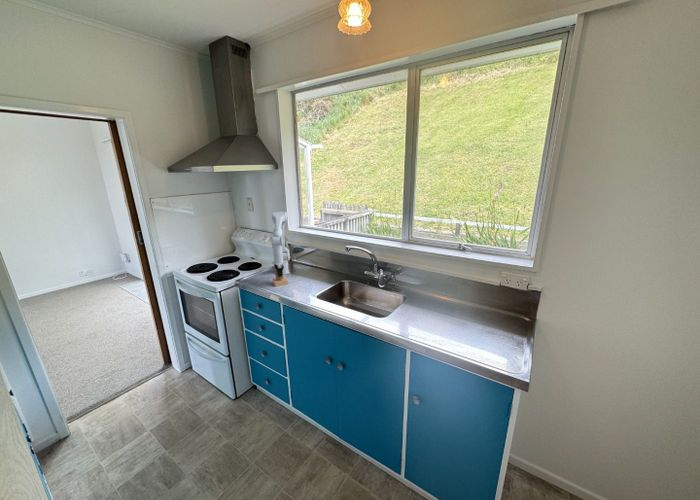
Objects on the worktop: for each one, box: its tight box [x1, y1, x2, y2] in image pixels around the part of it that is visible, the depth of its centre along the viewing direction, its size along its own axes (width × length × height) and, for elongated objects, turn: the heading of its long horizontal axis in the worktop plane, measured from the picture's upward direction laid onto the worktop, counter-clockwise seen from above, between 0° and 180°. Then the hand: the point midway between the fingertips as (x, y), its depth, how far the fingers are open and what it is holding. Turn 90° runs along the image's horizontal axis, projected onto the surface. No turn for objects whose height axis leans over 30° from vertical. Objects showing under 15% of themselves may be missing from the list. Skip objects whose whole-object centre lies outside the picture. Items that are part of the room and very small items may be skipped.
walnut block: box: [274, 269, 284, 279], centre depth 182 cm, size 4×4×5 cm
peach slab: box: [271, 276, 289, 287], centre depth 183 cm, size 8×8×3 cm
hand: (279, 275), depth 182 cm, fingers closed on walnut block, 4 cm apart
